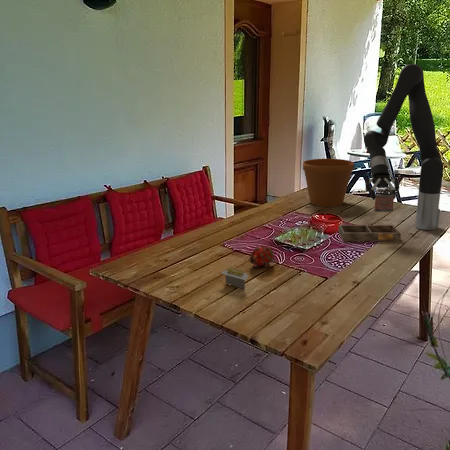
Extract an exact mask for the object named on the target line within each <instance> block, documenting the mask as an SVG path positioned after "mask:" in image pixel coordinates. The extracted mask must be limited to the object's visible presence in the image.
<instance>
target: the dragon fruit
mask: <svg viewBox="0 0 450 450" xmlns="http://www.w3.org/2000/svg"><path fill="white" fill-rule="evenodd" d="M274 261H275V254H274V250H273V249H272V248H271V247H270V246H267V247H265V246H264V245H261V247H255V248H254V250H252V251H251V253H250V257H249V262H250V263H251V264H252V267H253V268H260V267H262V266H263V267H264V269H265V268H267V267H268V266H269V264H272V263H274Z"/></svg>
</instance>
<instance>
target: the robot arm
mask: <svg viewBox="0 0 450 450" xmlns="http://www.w3.org/2000/svg"><path fill="white" fill-rule="evenodd" d="M424 76H425V75H424V70H423V68H422V67H421V66H420V65H419V64H415V63H411V64H409V63H408V64H407V65H404V67H402V69H401V70H400V72H399V75H398V79H397V81H396V83H395V87H394V89H393V91H392V93H391V95H390V97H389V99H388V100H387V103H386V104H385V107H384V108H383V110H382V111H381V113H380V115H379V116H378V118H377V121H376V123H375V124H376V127H378V128H380V130H381V131H380V132H378V131H376V130H369V131H366V133H365V135H364V137H363V138H364V139H363V140H364V141H363V143H364V145H365V147H366V150H367V152H368V154H369V160H370V170H371V171H370V172H371V178H369V177H366V178H365V182H364V183H365V185H364V186H365V192H367V193H368V192H369V193H370V198H371V199H372V201H373V200H375V198H376V196H375V194H376V192H375V190H376V189H385V188H387V189H392V193H391V194H394V195H395V196H394V200H395V199H396V198H397V193H396V192H399V190H400V183H399V178H398V177H395V178H391V177H390V170H389V163H388V160H387V154H386V149H385V146H386V145H387V143H388V141H389V136H390V133H391V129H392V126H393V125H394V123H395V122H396V120H397V118H398V116H399V113H400V112H401V110H402V107H403V104H404V102H405V100H406V99H407V97H408V111H409V121H410V124H411V130H412V133H413V135H414V139H415V141H416V143H417V146H418V148H419V152H420V160H421V166H420V173H419V174H420V175H419V183H418V195H417V203H416V214H415V223H414V226H415V227H414V228H416V229H419V230H424V231H433V230H438V229H439V223H440V222H439V221H440V216H441V215H440V214H441V209H440V208H439V207H440V198H441V191H442V184H443V182H442V181H443V175H444V162H443V160H442V157H441V154H440V151H439V149H438V146H437V145H438V144H437V136H436V135H437V134H436V127H435V121H434V117H433V112H432V109H431V106H430V102H429V100H428V96H427V92H426V88H425V87H426V86H425V77H424ZM371 183H372V187H371V186H370V184H371Z"/></svg>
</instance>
